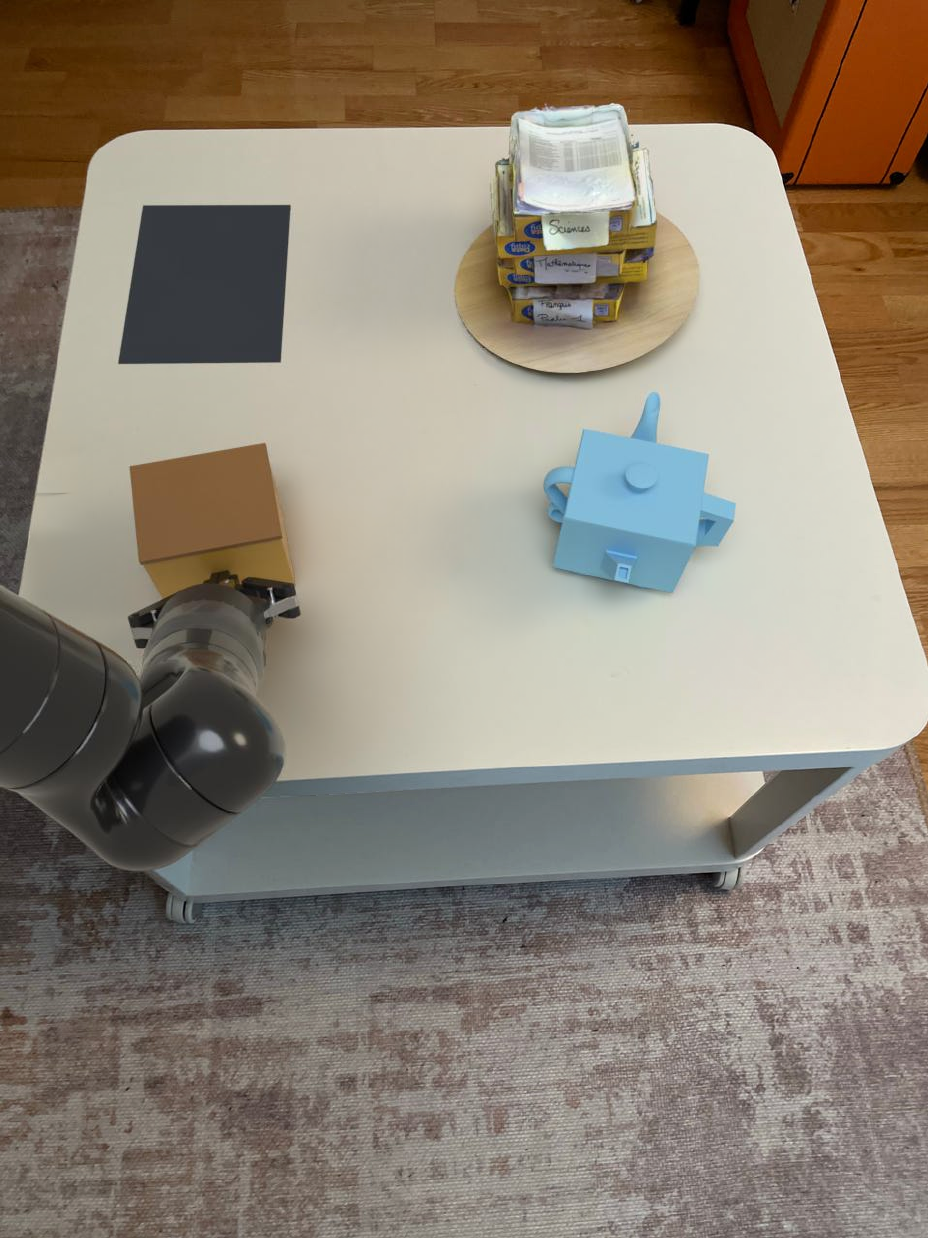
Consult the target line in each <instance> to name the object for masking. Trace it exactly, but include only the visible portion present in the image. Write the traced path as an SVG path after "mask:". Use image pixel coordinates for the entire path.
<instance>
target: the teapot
mask: <svg viewBox="0 0 928 1238" xmlns="http://www.w3.org/2000/svg"><path fill="white" fill-rule="evenodd" d="M661 403H662V402H661V396H660V394H659V393H658V392H656V391H652V392H650V394H648V396H647V398H646V400H645V402H644V406H643V409H642V414H641V417H640V419H639V421H638V423H637V426H636V427H635V429H634V431H633V432H632V434H631V436H630V437H628V436H624V435H619V434H614V433H609V432H604V431H598V430H593V429H587V428H582V432H581V437H580V441H579V446H578V450H577V454H576V458H575V459H576V460H575V463H574V466H558V467H555V468H553V469H551V470H550V471H548V472H547V473H546V475H545V477H544V480H543V491H544V494H545V495H546V497H547V498H548V499H549V501H550V503H549V504H548V506H547V515H548V517H549V518H550V519H551V520H553V521H554V522H556V523H560V524H561V526H560V531H559V536H558V540H557V544H556V549H555V554H554V558H553V563H552V568H556V569H559V570H563V571H569V572H573V573H575V574H578V575H582V576H585V575H587V576H591V577H595V578H601V579H605V580H610V581H615V582H619V583H625V584H628V585H633V586H636V587H638V588H641V589H646V588H648V589H652V590H657V591H662V592H667V593H671V594H673V593H674V591H675V589H676V587H677V585H678V583H679V581H680V579H681V577H682V575H683V573H684V571H685V569H686V567H687V565H688V563H689V561H690V559H691V557H692V555H693V553H694V551H695V549H696V547H719V546H720V544H721V542H722V541H723V539H724V537H726V534H727V532H728V531H729V529H730V528H731V527H732V524H733V523H734V521H735V514H736V506H737V502H734V501H731V500H728V499H725V498H722V497H718V496H715V495H712V494H710V493H706V492H704V491H705V484H706V478H707V472H708V466H709V465H708V464H709V457H710V454H708V453H705V452H701V451H696V450H692V449H687V448H682V447H677V446H672V445H669V444H663V443H658V442H657V438H658V437H657V435H658V434H657V433H658V423H659V422H658V421H659V416H660V410H661ZM557 484H569V490H568V495H567V496H566V495H565V493H563V492H562V490H561V489H560V488H559V487H558V485H557Z"/></svg>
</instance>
